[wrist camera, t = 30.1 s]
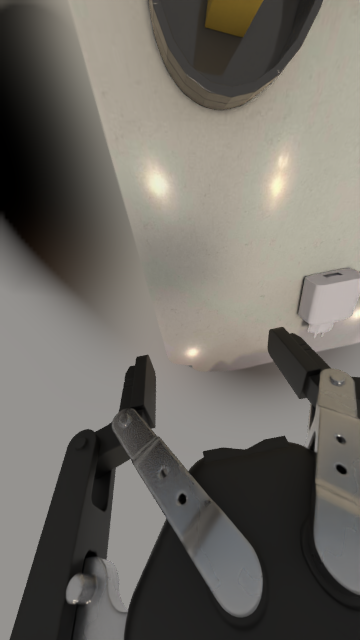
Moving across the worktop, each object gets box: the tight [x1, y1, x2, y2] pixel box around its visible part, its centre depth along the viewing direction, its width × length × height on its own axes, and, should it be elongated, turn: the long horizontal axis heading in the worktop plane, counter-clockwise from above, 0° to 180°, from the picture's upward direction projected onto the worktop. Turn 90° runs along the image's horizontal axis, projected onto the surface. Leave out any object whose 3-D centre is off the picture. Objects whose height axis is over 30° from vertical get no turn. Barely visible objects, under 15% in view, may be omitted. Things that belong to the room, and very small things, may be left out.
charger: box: [298, 268, 360, 338], centre depth 41 cm, size 5×9×15 cm
